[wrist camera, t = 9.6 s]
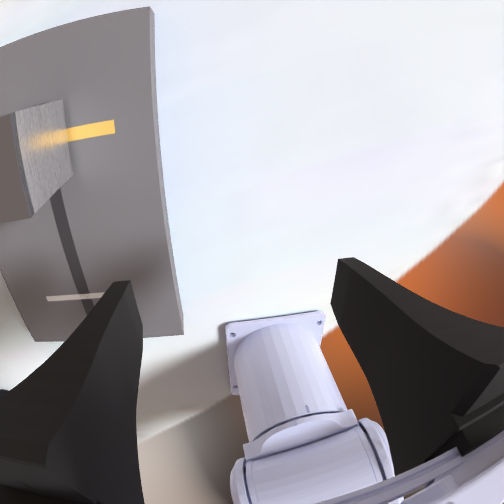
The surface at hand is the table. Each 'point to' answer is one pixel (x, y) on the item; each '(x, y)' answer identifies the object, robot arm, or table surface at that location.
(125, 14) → the fader console
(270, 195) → the table surface
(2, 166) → the fader knob
